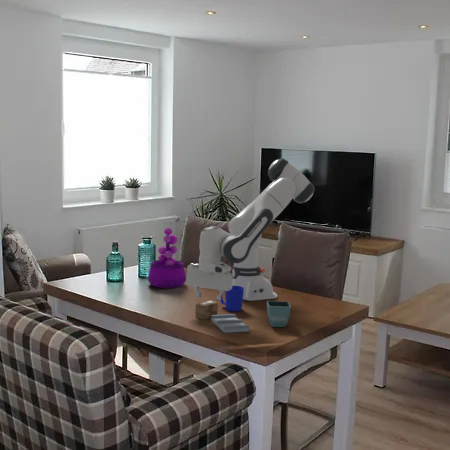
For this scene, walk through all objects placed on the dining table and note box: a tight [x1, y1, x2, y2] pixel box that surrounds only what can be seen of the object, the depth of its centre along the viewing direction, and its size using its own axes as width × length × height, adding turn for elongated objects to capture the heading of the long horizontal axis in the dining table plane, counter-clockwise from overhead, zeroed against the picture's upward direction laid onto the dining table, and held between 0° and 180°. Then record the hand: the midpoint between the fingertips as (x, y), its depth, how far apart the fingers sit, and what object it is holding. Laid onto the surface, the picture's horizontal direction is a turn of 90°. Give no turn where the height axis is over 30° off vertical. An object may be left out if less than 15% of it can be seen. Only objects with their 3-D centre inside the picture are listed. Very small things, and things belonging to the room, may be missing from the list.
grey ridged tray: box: [210, 313, 250, 334], centre depth 245 cm, size 10×17×2 cm, turn 18°
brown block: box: [195, 300, 219, 320], centre depth 258 cm, size 9×4×6 cm, turn 143°
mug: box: [220, 286, 244, 312], centre depth 269 cm, size 8×12×10 cm
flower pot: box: [266, 300, 292, 328], centre depth 247 cm, size 9×9×9 cm
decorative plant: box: [147, 227, 187, 290], centre depth 305 cm, size 19×18×30 cm
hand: (208, 298), depth 257 cm, fingers open, 8 cm apart
